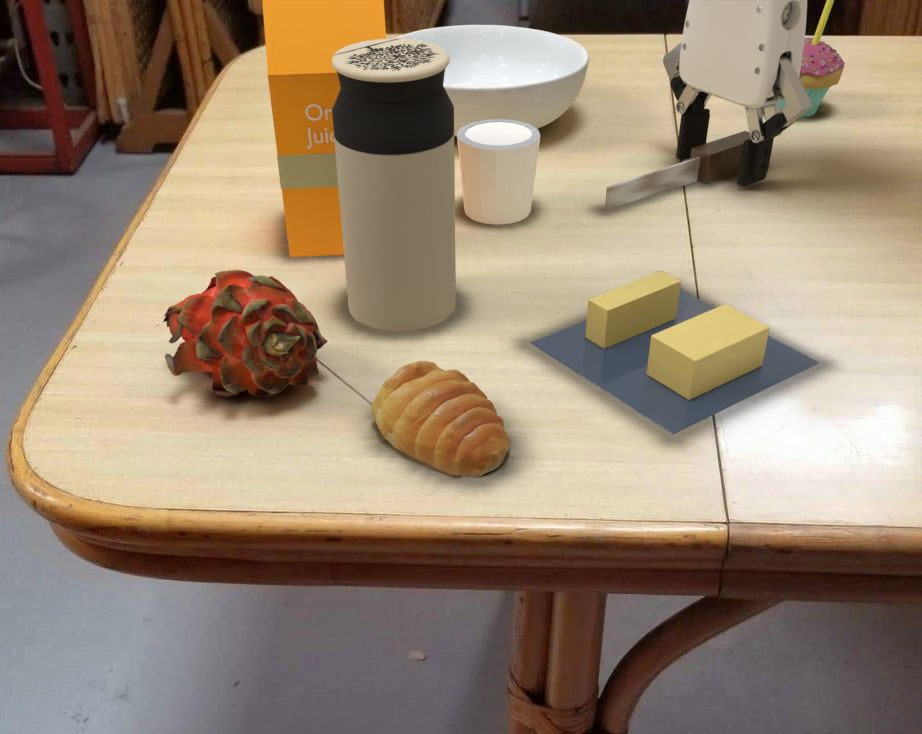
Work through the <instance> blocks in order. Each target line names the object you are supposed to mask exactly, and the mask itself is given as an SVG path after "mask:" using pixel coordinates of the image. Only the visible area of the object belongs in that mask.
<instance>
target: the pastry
mask: <svg viewBox="0 0 922 734" xmlns="http://www.w3.org/2000/svg"><path fill="white" fill-rule="evenodd" d="M371 413H372V414H371V415H372V416H373V419H374V421H375V423H376V425H377V428H378V430H379V432H380V434H381V435H382V437H383V439H385V440H386V441H387V442H388V443H389V444H390V445H391V446H392V447H393V448H394V449H395V450H398V451H400V452H402V453H404V454H405V455H407V456H408V457H411V458H412V459H414V460H416V461H417V462H420V463H423V464H425V465H427V466H429V467H432V468H433V469H436V470H438V471H440V472H443V473H445V474H446V475H450V476H457V477H470V478H471V477H472V478H479V477H480V478H481V477H482V476H483V475H485V474H487V473H490V472H492V471H494V470H496V469H498V468H499V467H500V466H501V464H503V461H504V459H505V457H506V455H507V453H508V451H509V448H510V447H511V443H512V441H511V439H510V436H509V435H508V433H507V431H506V429H505V424H504V419H503V418H502V417H501V416H499V415H498V413H497V410H496V408H495V406H494V404H493V402H492V401H491V400H490V399H488V396H487V394H485V392H484V391H482V389H480V387H479V386H478V385H477V383H475V382H473V381H470V380H469V378H468V377H467V376H466V375H465V373H462V372H460V370H458V369H447V370H444V369H442V368H440V366H438V365H437V364H436V363H435V362H434V361H429V360H422V361H421V360H418V361H415V362H411V363H408V364H405V365H403V366H401V367H399V368H398V369H397V370H396V371H395V372H394V374H393V375H392V376H390V377H388V378H387V379H385V381H384V382H383V383H382V385H381V387H380V388H379V389H378V392H377V395H376V396H375V398H374V400H373V402H372V404H371Z"/></svg>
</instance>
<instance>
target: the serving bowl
mask: <svg viewBox="0 0 922 734" xmlns="http://www.w3.org/2000/svg"><path fill="white" fill-rule="evenodd" d="M393 39H412V40H419V41H425V42H429V43H432V44H435V45H438V46H440V47H441V48H443V49H444V50H446V51H447V53H448V54H449V57H450V61H449V64H448V66H447V67H446V69H445V74H444V83H443V86H444V88H445V90H446V92H447V94H448V96H449V98H450V100H451V102H452V104H453V106H454V137H457V132H458V131H459V130H460V129H461V127H464V126H466V125H468V124H470V123H473V122H478V121H483V120H496V119H503V120H514V121H519V122H523V123H527V124H530V125H531V126H533V127H535V128H537V129H538V130H539V129H540V128H543V127H545V126H547V125H549V124H550V123H552V122H554V121H555V120H557V119H558V118H560V117H561V116H562V115H564V113H565V112H566V111H567V110H569V109H570V108H571V106H572V105H573V104H574V102H575V101H576V100H577V98H578V96H579V94H580V92H581V90H582V88H583V86H584V83H585V81H586V80H585V79H586V76H587V72H588V67H589V63H590V56H589V52H588V51H587V49H586V48H585V47H584V46H583V45H582V44H580V43H579V42H577V41H575V40H574V39H571V38H569V37H567V36H564V35H561V34H558V33H554V32H551V31H545V30H542V29H541V30H540V29H534V28H529V27H522V26H512V25H502V24H501V25H499V24H461V25H448V26H438V27H431V28H424V29H419V30H415V31H411V32H408V33H404V34H401V35H398V36H396V37H394V38H393Z"/></svg>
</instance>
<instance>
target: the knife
mask: <svg viewBox="0 0 922 734" xmlns="http://www.w3.org/2000/svg"><path fill="white" fill-rule="evenodd" d="M748 139H751V138H750V133H749V131H748V130H742V131H740V132H737V133H734V134H731V135H728V136H724V137H722V138H717V139H715V140H712V141H709V142H706V144H703V145H700V146H696V147H693V148H692V150H691V158H689V159H686V160H683V161H681V162H678V163H674V164H672V165H669V166H666V167H663V168H660V169H656V170H654V171H651V172H647V173H644V174H641V175H639V176H636V177H633V178H629V179H627V180H624V181H621V182H618V183H617V182H616V183H614V184H612V185H609V186H606V191H605V203H604V210H606V211H609V210H612V209H615V208H618V207H621V206H624V205H627V204H629V203H632V202H636V201H638V200H641V199H644V198H646V197H650V196H653V195H655V194H658V193H659V194H660V193H662V192H664V191H668V190H670V189H673V190H675V189H679V188H681V187H684V186H688V185H690V184H692V183H695V182H699V183H701V184H704V185H707V184H710V183H713V182H715V181H718V180H721V179H725V178H728V177H730V176H733V175H736V174H738V170H739V164H740V158H741V152H742V146H743V143H744V141H745V140H748Z"/></svg>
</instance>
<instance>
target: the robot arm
mask: <svg viewBox="0 0 922 734" xmlns="http://www.w3.org/2000/svg"><path fill="white" fill-rule="evenodd" d="M807 15H808V0H689V1H688V5H687V10H686V15H685V20H684V25H683V31H682V37H681V42H679V43H678V44H677V45H676V46H674V48H672V49H671V50H669V52H668V53H666V54H665V55H664V56H663V59H662V63H663V66H664V69H665V71H666V73H667V76H668V78H669V80H670V88H671V90H672V93H673V96H674V97H675V99H676V101H677V102H676V104H675V110H676V112H677V113H678V114H679V115H680V121H679V130H678V138H677V145H676V152H675V153H676V154H675V156H676V159H677V160H679V161H681V162H684V161H687V160H690V158H691V150H692V148H693V147H696V146H700V145H703V144H706V143H707V138H708V134H709V133H708V131H709V127H710V126H709V125H710V120H711V119H710V118H711V109H709V108H705V107H706V106H707V104H708V103H709V101H710V99H711V97H712V96H713V97H716V98H718V99H722V100H725V101H726V102H730V103H733V104H736V105H738V106H742V107H744V109H745V115H746V121H747V126H748V132H749V133H750V138H751V139H748V140H745V141H744V143H743V146H742V152H741V158H740V164H739V170H738V173H737V177H736V183H737V185H738V186H740V187H743V188H744V187H745V188H746V187H748V186H750V185H753V184H755V183H759V182H761V181H764V180H765V179H766V177H767V175H768V171H769V169H770V162H771V157H772V150H773V146H774V140H775V138H777V137H779V136H781V134H782V133H783V132H784V131H785V130H787V129H788V128H789V127H791V126H792V125H793V124H794V123H795V121H796V120H798V119H800V118H799V117H800V116H801V115H803V114H804V113H805V112H806V111H807V110H808V109H809V108H810V107H811V100H810V98H809V96H808V94H807V93H806V91H805V89H804V87H803V85H802V83H801V81H800V79H799V75H800V69H801V63H802V55H803V48H804V39H805V38H806V28H807ZM778 99H785V106H784V107H783V108H782V109H781V111H780V110H779V104H778ZM762 109H763V113H764V118H765V121H764V120H763V114H762Z"/></svg>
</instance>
